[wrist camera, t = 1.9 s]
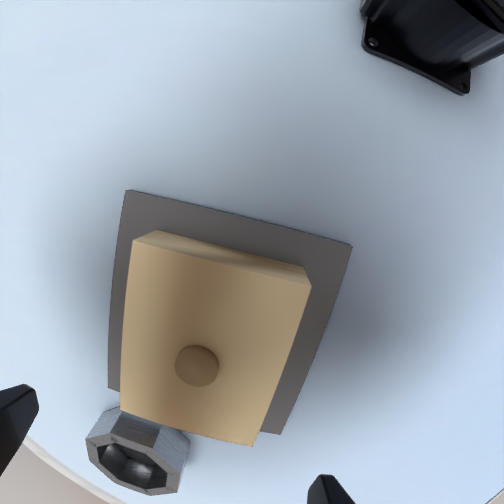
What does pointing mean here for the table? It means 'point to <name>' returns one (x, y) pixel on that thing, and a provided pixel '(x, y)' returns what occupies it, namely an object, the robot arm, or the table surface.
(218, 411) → the lid
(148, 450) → the bowl
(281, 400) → the mat
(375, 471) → the table surface
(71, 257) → the table surface
